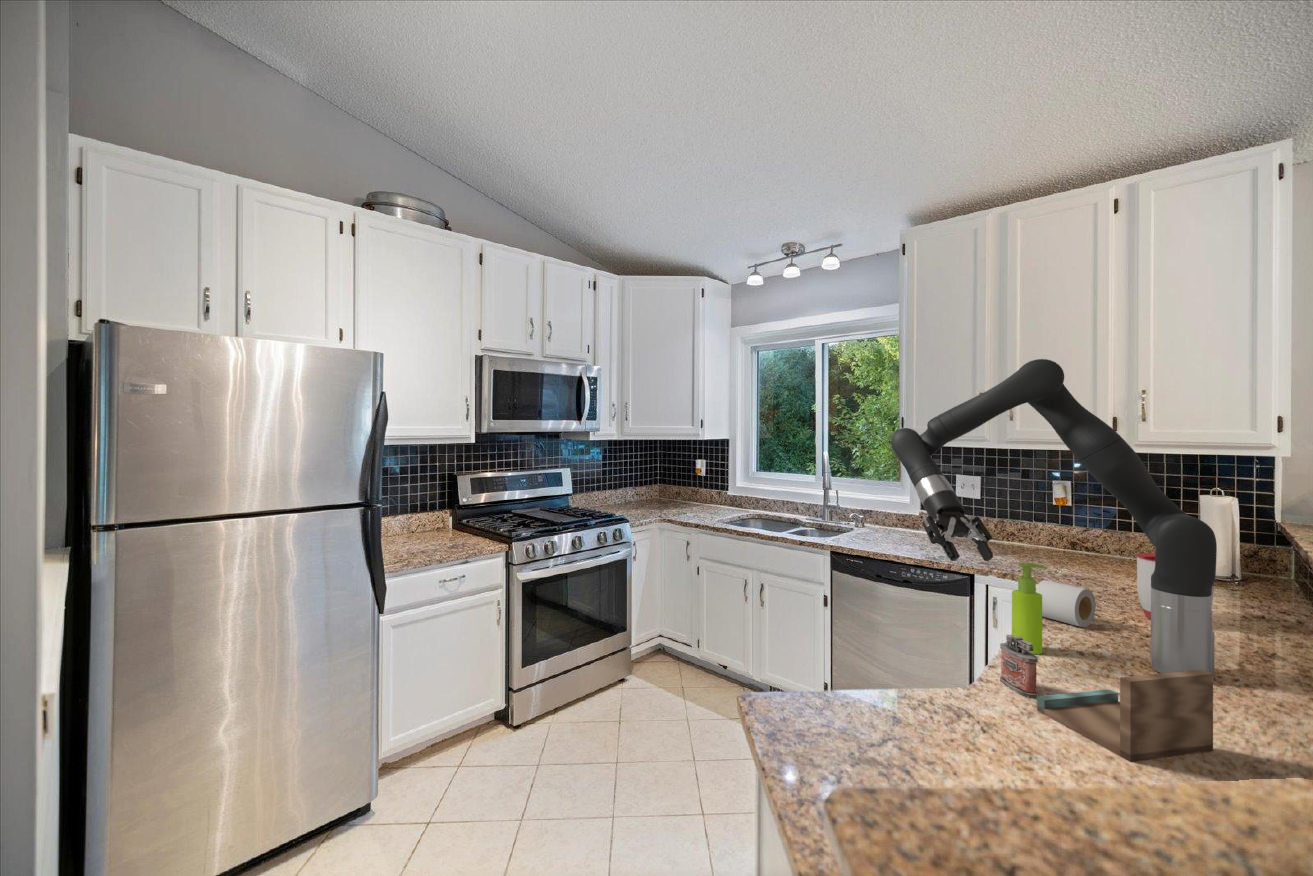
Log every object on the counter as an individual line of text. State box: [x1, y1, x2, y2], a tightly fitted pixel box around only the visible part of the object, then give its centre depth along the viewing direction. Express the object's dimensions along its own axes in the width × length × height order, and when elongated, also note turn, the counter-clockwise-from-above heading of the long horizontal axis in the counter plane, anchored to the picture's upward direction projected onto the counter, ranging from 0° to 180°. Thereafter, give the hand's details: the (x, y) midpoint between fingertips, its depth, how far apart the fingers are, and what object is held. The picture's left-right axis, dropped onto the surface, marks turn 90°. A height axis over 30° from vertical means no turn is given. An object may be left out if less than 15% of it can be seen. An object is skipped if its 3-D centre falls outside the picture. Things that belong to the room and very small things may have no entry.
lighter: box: [999, 634, 1038, 700], centre depth 107 cm, size 8×3×10 cm, turn 5°
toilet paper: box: [1036, 579, 1097, 628], centre depth 148 cm, size 10×10×10 cm
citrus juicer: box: [1135, 552, 1214, 619], centre depth 148 cm, size 16×17×20 cm
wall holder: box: [1036, 670, 1214, 763], centre depth 92 cm, size 16×16×12 cm
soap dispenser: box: [1011, 562, 1049, 655], centre depth 127 cm, size 6×7×20 cm
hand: (972, 559), depth 118 cm, fingers open, 8 cm apart
